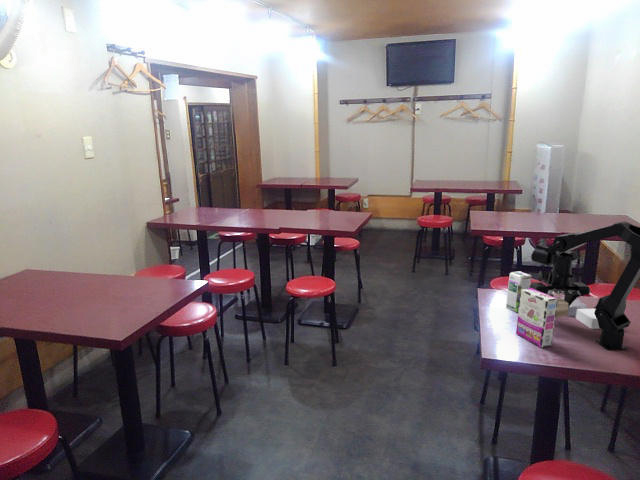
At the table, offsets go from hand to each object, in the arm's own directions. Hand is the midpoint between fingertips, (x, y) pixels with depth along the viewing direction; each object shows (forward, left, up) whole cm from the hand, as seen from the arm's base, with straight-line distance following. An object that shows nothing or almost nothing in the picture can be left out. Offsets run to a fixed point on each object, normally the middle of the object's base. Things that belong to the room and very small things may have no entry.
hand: (556, 311), depth 160 cm
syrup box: (+14, +8, -5) cm, 17 cm away
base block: (+1, -15, -5) cm, 16 cm away
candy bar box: (-12, +13, -5) cm, 19 cm away
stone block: (+13, -12, -6) cm, 18 cm away
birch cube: (0, 0, -1) cm, 1 cm away
